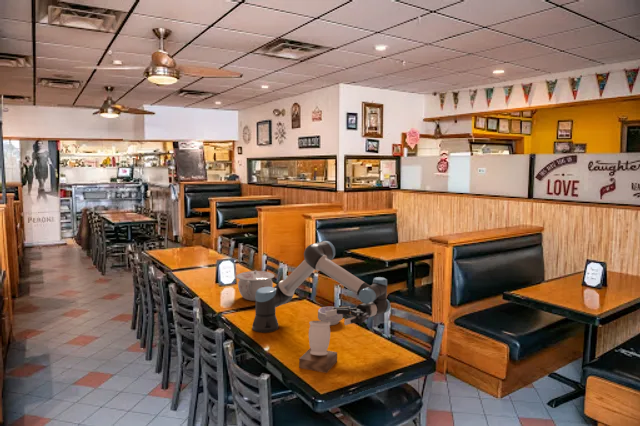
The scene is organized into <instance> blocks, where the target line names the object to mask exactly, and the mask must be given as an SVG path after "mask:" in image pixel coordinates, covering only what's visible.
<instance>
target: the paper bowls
mask: <svg viewBox="0 0 640 426" xmlns="http://www.w3.org/2000/svg"><path fill="white" fill-rule="evenodd" d="M334 307H335V306H322V307H320V308H318V310H317V319H318V321H327V322H330V323H331V324H330V326H335V325H338V324H339V323H340V322H341V321H342V320H343V317H344V316H343V315H344V314H337V315H334V316H330V317H326V311H331V310H334Z"/></svg>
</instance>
